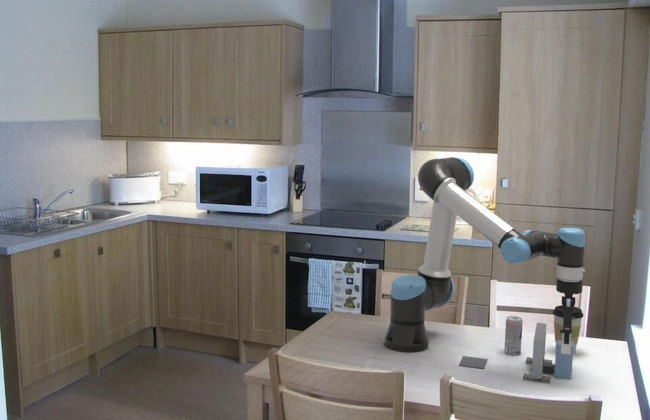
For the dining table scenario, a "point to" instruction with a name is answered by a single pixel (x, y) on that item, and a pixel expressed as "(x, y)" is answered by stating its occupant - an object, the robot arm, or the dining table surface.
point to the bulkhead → (538, 356)
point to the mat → (473, 362)
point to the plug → (560, 363)
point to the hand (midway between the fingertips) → (566, 346)
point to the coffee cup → (575, 324)
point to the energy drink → (513, 335)
